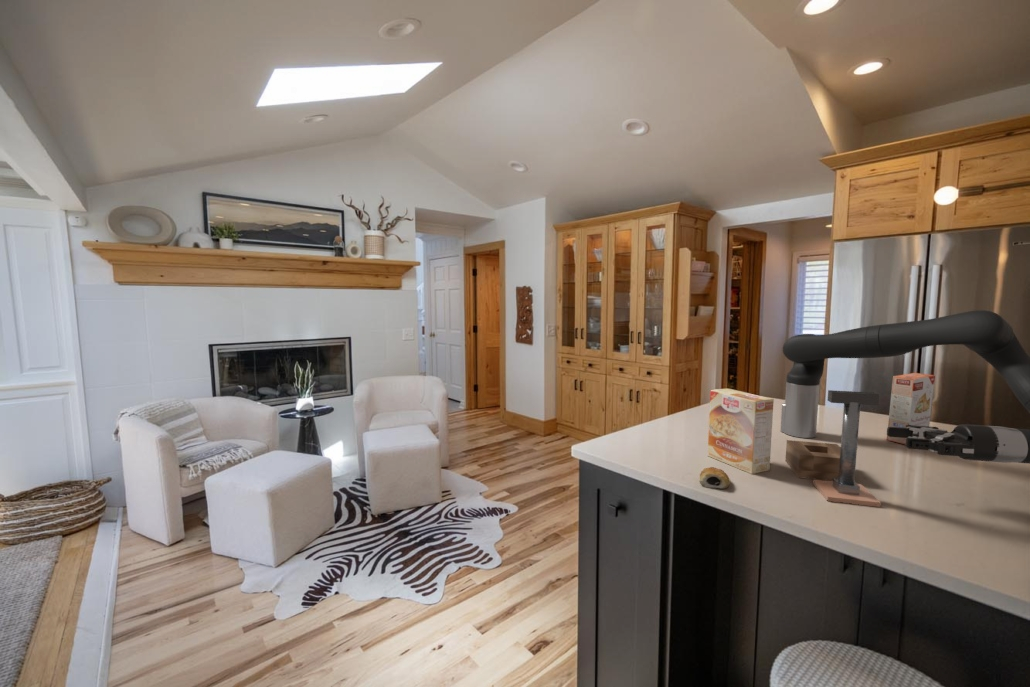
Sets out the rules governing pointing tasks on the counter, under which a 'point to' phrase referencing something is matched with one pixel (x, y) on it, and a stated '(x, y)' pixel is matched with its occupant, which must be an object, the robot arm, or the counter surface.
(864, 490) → the pad
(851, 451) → the key
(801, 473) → the block
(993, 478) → the counter surface
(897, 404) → the cracker box
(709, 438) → the coffeecake box
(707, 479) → the pastry
